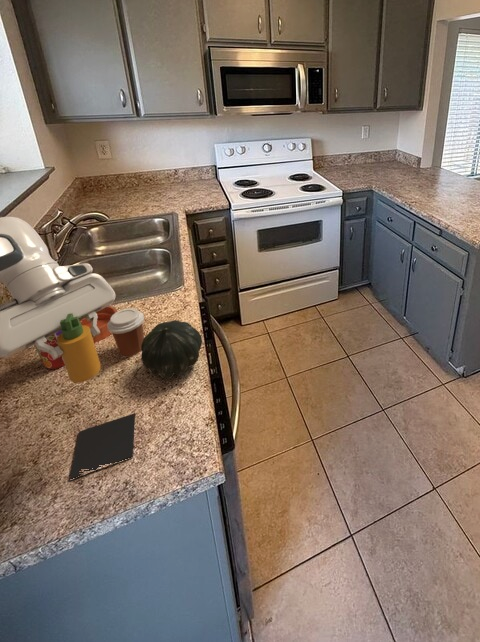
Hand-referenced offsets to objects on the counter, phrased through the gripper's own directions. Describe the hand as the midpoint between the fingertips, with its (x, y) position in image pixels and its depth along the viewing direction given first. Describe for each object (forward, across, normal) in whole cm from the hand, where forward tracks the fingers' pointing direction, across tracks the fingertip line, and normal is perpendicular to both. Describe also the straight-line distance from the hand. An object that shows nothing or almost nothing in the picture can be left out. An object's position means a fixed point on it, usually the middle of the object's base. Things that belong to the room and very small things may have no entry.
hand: (78, 345), depth 70 cm
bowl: (-9, +17, +44) cm, 48 cm away
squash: (+14, +21, +20) cm, 33 cm away
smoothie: (-5, +5, +40) cm, 41 cm away
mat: (+19, -2, +16) cm, 25 cm away
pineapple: (+4, 0, +5) cm, 7 cm away
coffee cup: (+4, +18, +31) cm, 36 cm away
